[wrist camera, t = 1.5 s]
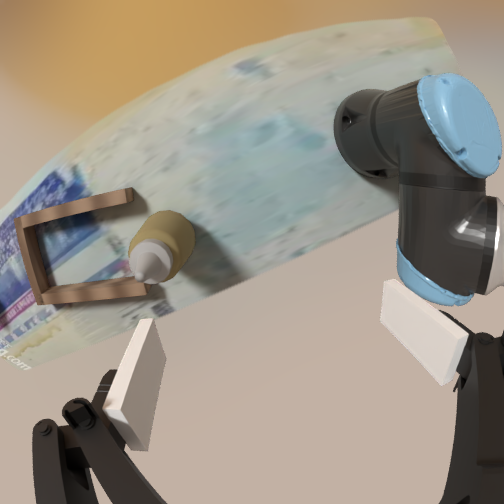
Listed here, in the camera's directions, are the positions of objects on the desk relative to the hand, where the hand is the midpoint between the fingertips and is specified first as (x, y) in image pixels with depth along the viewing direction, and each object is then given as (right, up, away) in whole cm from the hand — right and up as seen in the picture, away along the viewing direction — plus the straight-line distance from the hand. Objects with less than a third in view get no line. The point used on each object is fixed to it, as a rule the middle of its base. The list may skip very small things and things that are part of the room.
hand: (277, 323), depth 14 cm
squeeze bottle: (-14, +7, +27) cm, 31 cm away
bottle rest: (-29, +4, +25) cm, 39 cm away
